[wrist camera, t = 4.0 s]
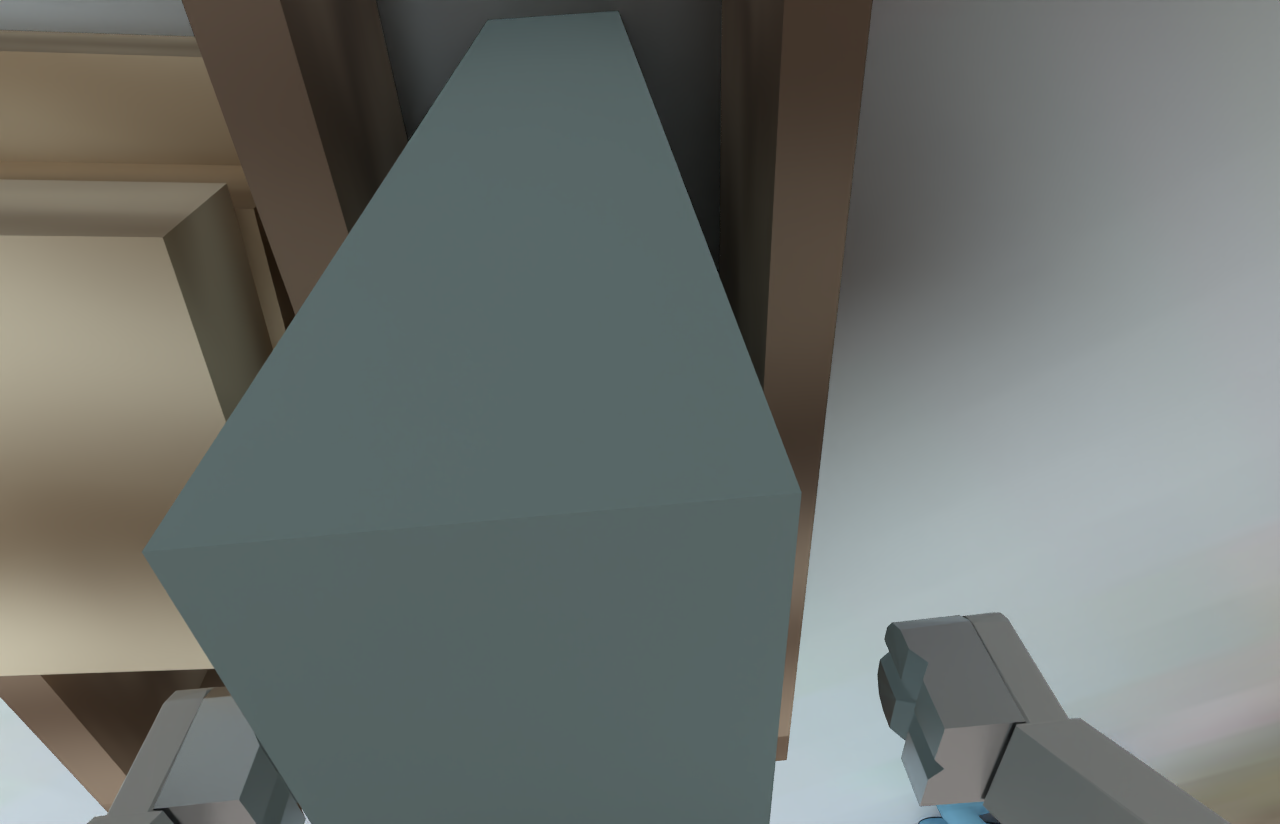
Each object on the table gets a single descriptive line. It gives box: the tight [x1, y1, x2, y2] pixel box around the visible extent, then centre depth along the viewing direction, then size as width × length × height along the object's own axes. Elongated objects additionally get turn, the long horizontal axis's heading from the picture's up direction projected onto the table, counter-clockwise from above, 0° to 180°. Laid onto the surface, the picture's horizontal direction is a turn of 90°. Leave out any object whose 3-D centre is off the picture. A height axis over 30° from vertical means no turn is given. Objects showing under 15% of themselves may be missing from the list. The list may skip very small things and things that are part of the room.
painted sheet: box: [142, 11, 802, 824], centre depth 13 cm, size 14×2×14 cm, turn 3°
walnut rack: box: [0, 0, 873, 812], centre depth 16 cm, size 21×18×5 cm
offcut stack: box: [0, 30, 295, 676], centre depth 15 cm, size 13×7×7 cm, turn 178°
